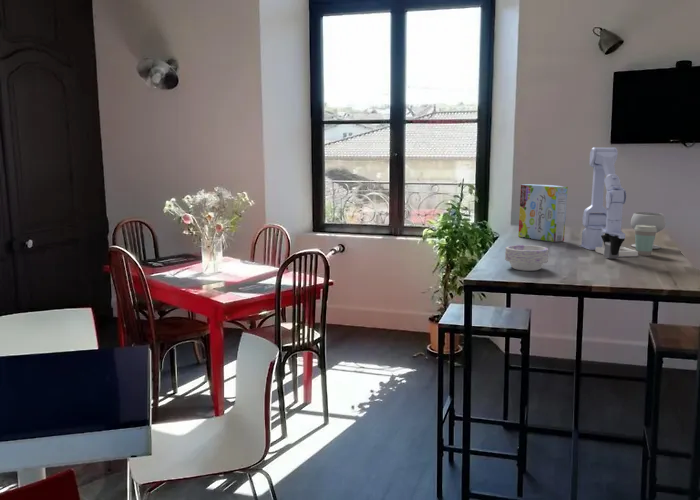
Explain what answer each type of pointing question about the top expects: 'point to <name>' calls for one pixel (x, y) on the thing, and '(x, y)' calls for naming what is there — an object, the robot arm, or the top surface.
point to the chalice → (648, 222)
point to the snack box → (542, 212)
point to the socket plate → (620, 251)
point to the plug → (609, 251)
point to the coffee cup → (645, 239)
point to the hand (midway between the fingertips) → (611, 253)
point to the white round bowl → (526, 257)
